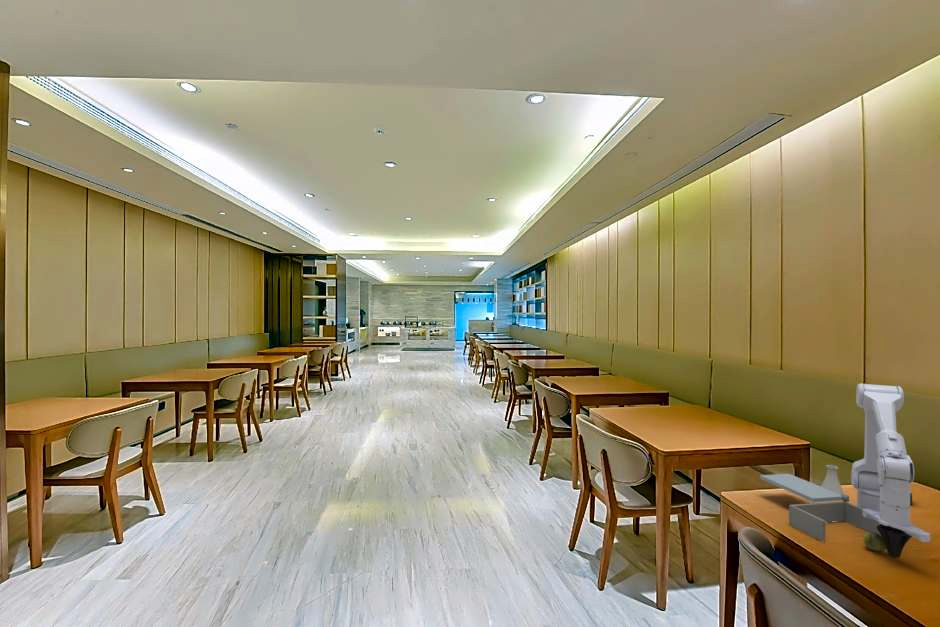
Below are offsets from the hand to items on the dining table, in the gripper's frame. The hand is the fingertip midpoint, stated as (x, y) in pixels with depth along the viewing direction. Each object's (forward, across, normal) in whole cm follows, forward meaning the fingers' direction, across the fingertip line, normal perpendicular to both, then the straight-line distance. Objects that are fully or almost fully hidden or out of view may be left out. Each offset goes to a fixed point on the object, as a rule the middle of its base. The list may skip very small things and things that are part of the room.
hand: (894, 556), depth 116 cm
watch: (+1, -30, +44) cm, 53 cm away
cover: (-5, -31, +5) cm, 32 cm away
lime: (+1, -4, 0) cm, 5 cm away
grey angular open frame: (+1, -16, 0) cm, 16 cm away
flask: (+1, -40, +26) cm, 47 cm away
